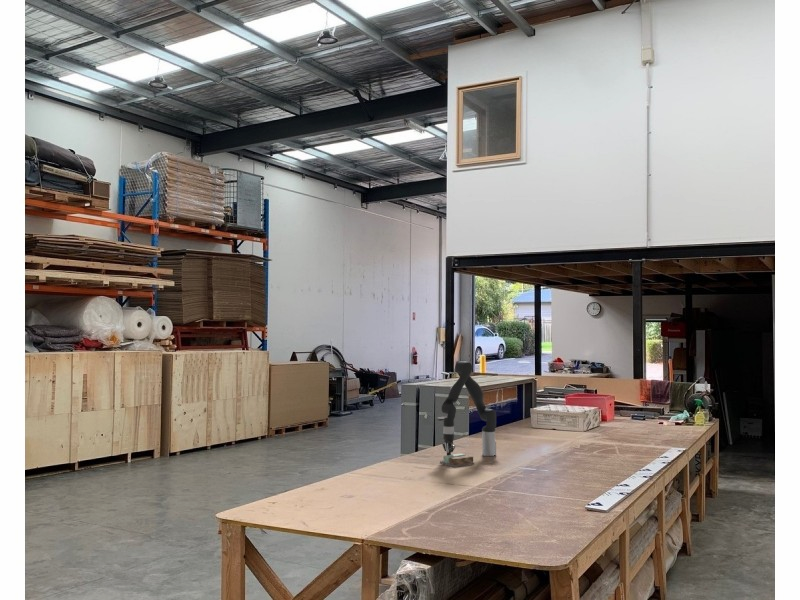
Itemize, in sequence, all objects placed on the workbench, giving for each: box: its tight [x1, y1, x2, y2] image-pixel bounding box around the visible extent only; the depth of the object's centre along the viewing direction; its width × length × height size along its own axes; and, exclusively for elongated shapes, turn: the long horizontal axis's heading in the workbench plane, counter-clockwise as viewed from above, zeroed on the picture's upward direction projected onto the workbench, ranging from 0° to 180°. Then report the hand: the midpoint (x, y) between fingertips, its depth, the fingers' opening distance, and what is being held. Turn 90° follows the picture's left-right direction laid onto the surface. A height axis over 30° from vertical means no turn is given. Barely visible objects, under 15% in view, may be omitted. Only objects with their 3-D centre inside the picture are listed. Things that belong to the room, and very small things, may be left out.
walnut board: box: [450, 454, 474, 465], centre depth 440 cm, size 16×5×4 cm, turn 121°
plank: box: [442, 453, 467, 463], centre depth 447 cm, size 16×5×4 cm, turn 129°
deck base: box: [439, 460, 475, 468], centre depth 444 cm, size 18×15×1 cm
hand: (448, 458), depth 452 cm, fingers closed
